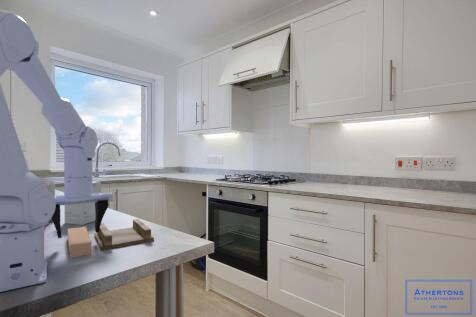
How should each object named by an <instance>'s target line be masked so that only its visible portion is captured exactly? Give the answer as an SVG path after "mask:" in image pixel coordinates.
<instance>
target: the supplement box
mask: <svg viewBox="0 0 476 317" xmlns="http://www.w3.org/2000/svg"><path fill="white" fill-rule="evenodd" d="M92 193H102V181H100V180H99V181H93V180H92ZM85 201H88V200H85ZM70 202H76V201H70ZM93 222H95V202H93V203H82V204H71V205H64V224H69V225H70V224H71V225H77V226H78V225H80V226H85V225H86V224H89V223H93Z"/></svg>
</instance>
